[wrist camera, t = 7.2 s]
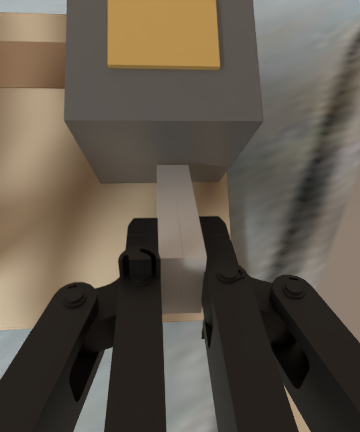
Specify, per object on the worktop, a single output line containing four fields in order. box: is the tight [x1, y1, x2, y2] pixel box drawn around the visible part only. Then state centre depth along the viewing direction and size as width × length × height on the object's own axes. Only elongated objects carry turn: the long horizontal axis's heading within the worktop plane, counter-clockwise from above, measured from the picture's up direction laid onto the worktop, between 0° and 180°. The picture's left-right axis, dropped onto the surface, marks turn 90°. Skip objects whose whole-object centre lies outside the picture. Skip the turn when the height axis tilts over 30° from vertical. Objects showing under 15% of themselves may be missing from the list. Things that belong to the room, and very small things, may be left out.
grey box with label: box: [64, 0, 263, 184], centre depth 16 cm, size 7×6×8 cm
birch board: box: [0, 12, 231, 330], centre depth 20 cm, size 18×19×1 cm
